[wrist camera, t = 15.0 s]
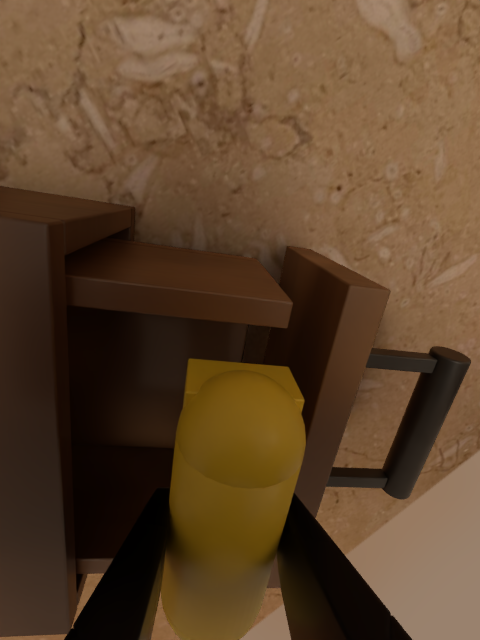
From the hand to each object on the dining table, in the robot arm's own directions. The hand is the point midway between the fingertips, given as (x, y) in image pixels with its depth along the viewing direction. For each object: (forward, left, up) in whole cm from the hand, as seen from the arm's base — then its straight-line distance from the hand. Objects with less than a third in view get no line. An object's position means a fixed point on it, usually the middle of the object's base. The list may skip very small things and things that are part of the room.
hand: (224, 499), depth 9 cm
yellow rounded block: (0, 0, -1) cm, 1 cm away
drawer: (0, 0, -8) cm, 8 cm away
